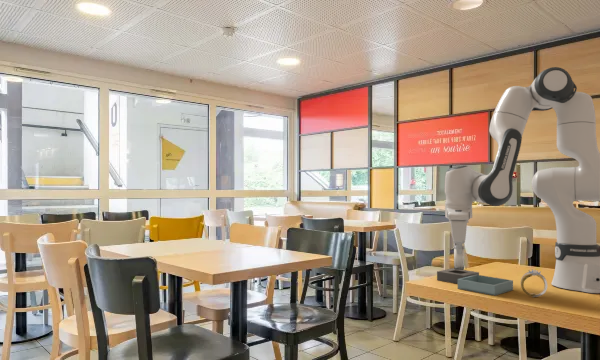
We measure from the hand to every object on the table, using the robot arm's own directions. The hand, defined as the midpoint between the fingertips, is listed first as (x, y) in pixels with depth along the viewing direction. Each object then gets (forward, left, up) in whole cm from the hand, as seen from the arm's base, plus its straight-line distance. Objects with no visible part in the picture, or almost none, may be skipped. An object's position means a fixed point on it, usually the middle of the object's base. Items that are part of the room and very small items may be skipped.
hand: (459, 252), depth 155 cm
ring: (-15, +22, -10) cm, 29 cm away
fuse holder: (+1, 0, -10) cm, 10 cm away
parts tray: (-4, +13, -10) cm, 17 cm away
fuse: (0, 0, -6) cm, 6 cm away
